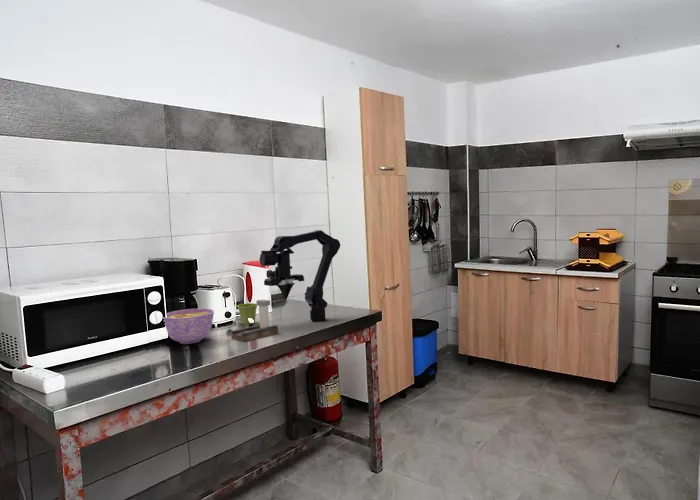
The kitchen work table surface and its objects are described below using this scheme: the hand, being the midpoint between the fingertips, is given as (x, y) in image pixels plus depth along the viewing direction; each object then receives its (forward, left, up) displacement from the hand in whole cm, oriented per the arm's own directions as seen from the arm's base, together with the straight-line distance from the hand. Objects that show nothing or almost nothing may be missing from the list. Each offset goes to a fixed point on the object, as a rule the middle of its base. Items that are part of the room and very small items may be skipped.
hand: (285, 299), depth 225 cm
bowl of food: (+40, +14, -12) cm, 44 cm away
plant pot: (+17, -12, -12) cm, 24 cm away
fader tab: (+10, +11, -10) cm, 18 cm away
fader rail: (+14, +14, -12) cm, 23 cm away
